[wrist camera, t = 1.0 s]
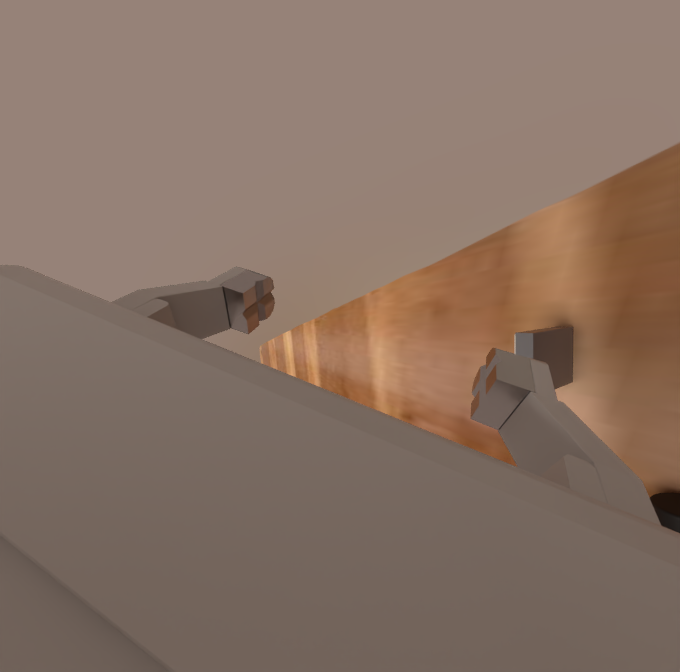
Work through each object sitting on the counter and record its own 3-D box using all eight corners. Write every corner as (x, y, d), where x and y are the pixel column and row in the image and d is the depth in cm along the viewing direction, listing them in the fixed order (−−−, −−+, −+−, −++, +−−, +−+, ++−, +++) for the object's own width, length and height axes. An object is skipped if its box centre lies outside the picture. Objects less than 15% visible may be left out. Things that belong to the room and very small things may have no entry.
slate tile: (573, 326, 40) (533, 333, 34) (572, 381, 41) (533, 398, 34) (554, 326, 42) (513, 332, 36) (554, 379, 43) (513, 394, 36)
